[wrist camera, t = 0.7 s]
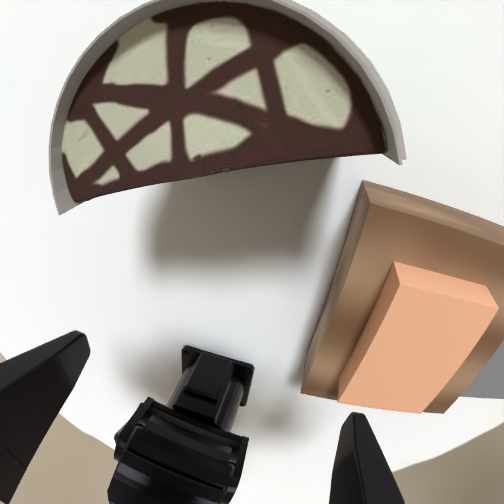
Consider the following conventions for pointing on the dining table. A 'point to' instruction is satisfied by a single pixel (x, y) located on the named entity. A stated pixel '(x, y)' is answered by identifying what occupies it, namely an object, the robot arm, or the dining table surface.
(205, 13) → the food container
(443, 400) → the brown flat block
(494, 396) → the mat
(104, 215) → the dining table surface
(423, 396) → the peach block
